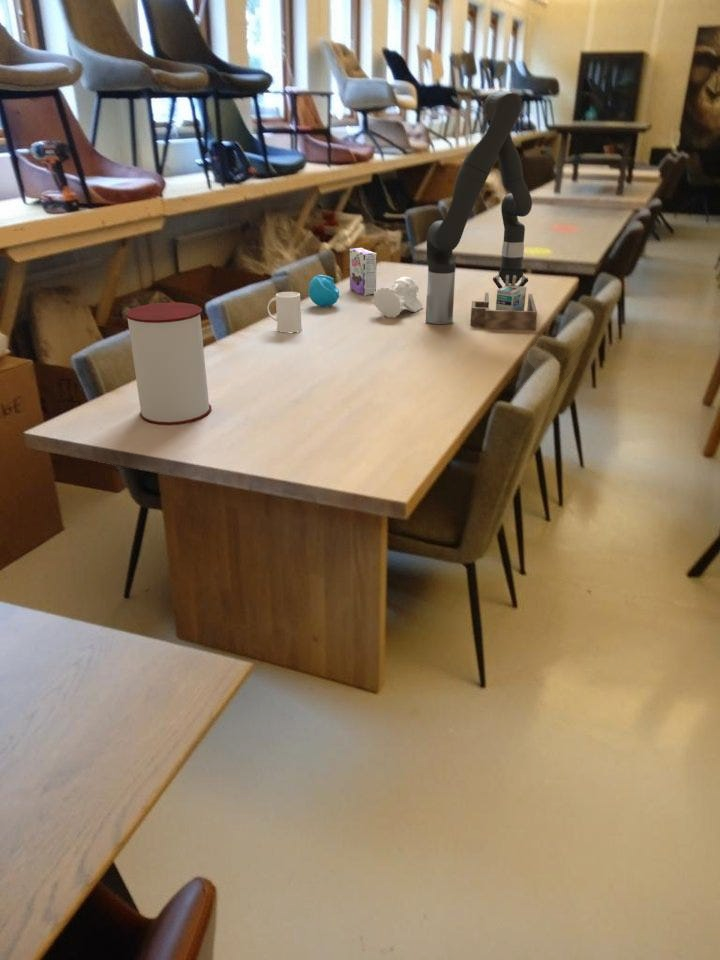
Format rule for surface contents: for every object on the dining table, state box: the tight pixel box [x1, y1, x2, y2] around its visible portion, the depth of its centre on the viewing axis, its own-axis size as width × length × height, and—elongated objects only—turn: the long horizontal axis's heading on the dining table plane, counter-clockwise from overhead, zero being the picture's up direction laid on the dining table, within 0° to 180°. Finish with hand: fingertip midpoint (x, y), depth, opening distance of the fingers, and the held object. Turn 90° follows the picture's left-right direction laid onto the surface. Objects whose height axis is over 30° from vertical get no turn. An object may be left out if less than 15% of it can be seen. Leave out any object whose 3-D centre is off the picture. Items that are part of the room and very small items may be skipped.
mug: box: [267, 291, 303, 333], centre depth 249 cm, size 12×8×12 cm
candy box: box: [349, 247, 378, 297], centre depth 299 cm, size 14×6×16 cm, turn 25°
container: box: [125, 301, 212, 426], centre depth 178 cm, size 17×17×25 cm
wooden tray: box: [470, 292, 538, 331], centre depth 263 cm, size 22×27×6 cm
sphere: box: [308, 274, 340, 308], centre depth 278 cm, size 12×11×12 cm
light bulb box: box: [495, 284, 527, 311], centre depth 262 cm, size 11×7×11 cm, turn 145°
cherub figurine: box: [371, 276, 423, 319], centre depth 272 cm, size 13×12×20 cm
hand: (508, 303), depth 269 cm, fingers closed
